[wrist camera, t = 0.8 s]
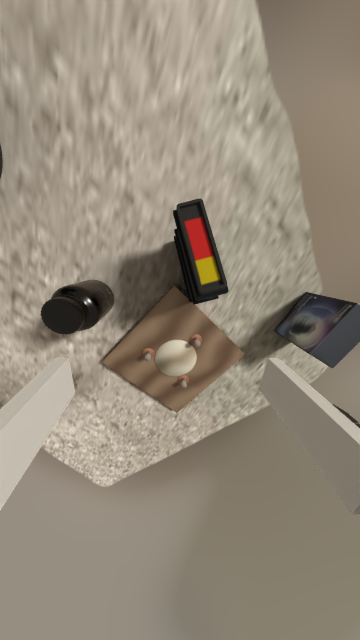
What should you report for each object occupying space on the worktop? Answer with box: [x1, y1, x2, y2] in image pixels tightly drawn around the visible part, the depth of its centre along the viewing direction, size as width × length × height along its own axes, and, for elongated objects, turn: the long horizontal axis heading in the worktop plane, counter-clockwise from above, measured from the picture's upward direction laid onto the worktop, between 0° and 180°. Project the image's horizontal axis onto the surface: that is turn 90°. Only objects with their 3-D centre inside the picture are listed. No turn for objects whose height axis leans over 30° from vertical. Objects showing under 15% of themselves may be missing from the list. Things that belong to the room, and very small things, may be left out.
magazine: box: [173, 199, 228, 305], centre depth 26 cm, size 4×13×15 cm, turn 14°
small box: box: [274, 292, 360, 368], centre depth 32 cm, size 11×6×10 cm, turn 149°
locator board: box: [102, 285, 245, 412], centre depth 36 cm, size 22×22×4 cm
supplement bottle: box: [41, 280, 114, 334], centre depth 26 cm, size 7×7×12 cm
